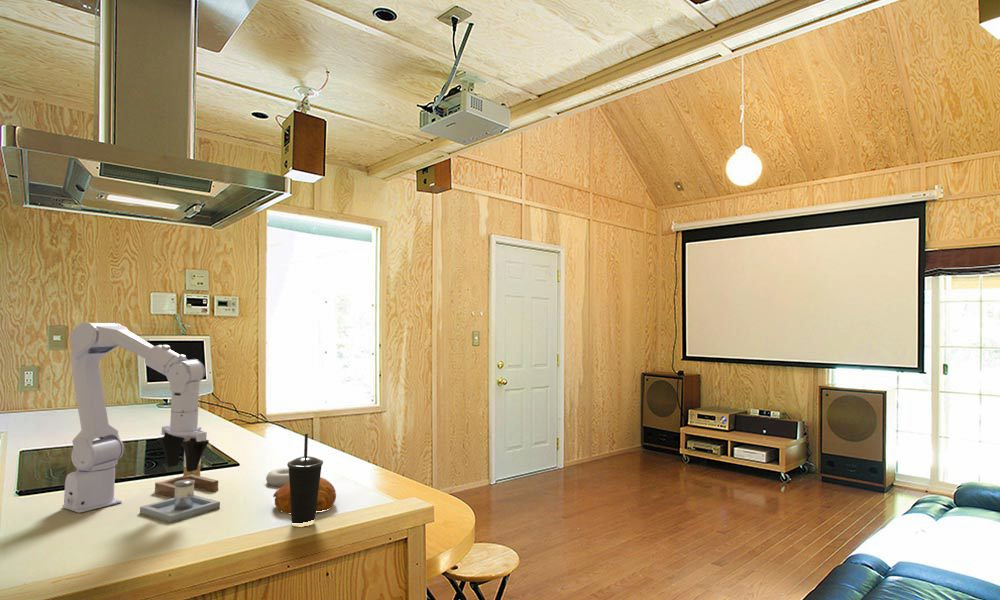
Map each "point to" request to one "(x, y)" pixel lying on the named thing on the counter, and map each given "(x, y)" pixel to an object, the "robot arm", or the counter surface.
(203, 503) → the dish
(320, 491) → the croissant
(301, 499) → the drinking cup
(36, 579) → the counter surface
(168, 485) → the notch block
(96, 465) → the robot arm
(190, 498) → the salt shaker
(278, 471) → the donut
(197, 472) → the sprinkles bottle
